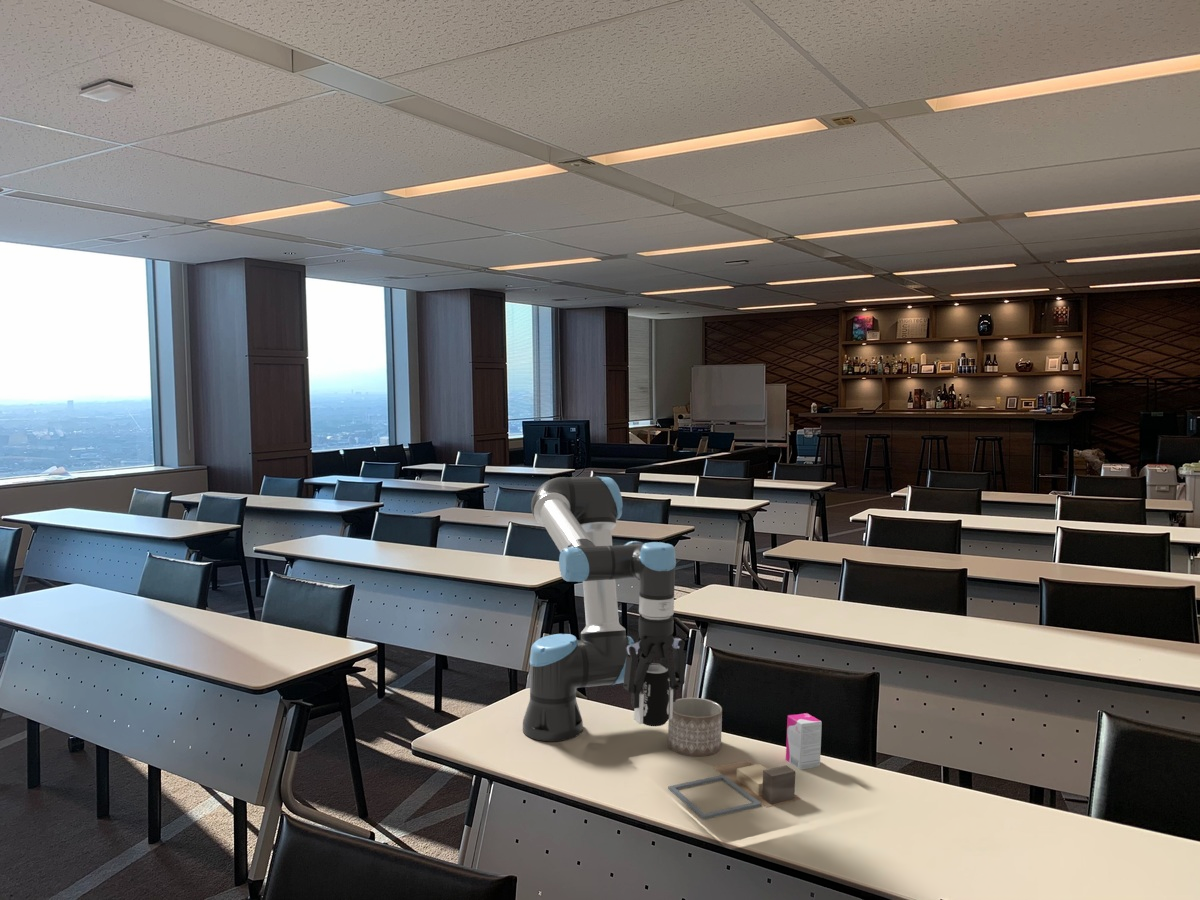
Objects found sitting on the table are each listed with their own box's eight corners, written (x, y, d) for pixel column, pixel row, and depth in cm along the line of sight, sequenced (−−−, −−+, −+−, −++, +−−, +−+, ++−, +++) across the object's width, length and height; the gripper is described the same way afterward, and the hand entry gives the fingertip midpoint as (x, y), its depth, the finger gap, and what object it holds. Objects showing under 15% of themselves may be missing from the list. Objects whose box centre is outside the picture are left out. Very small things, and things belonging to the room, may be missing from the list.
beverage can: (666, 729, 178) (668, 674, 177) (636, 725, 180) (637, 671, 178) (670, 716, 185) (671, 663, 184) (640, 714, 186) (642, 661, 185)
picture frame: (668, 793, 179) (668, 786, 178) (723, 781, 184) (723, 774, 184) (703, 824, 166) (703, 816, 166) (761, 810, 172) (761, 803, 172)
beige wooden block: (736, 779, 183) (736, 768, 183) (759, 774, 186) (759, 763, 186) (758, 795, 176) (758, 784, 176) (781, 790, 179) (781, 779, 178)
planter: (723, 741, 206) (724, 700, 205) (717, 763, 193) (718, 719, 193) (672, 736, 209) (673, 695, 208) (663, 757, 197) (664, 713, 196)
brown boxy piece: (712, 771, 189) (713, 741, 189) (745, 764, 193) (746, 735, 193) (766, 811, 171) (767, 778, 171) (801, 803, 175) (802, 770, 175)
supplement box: (821, 770, 191) (822, 721, 190) (799, 774, 189) (800, 724, 188) (805, 759, 196) (807, 711, 196) (784, 763, 194) (785, 715, 193)
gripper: (623, 624, 173) (620, 732, 175) (704, 615, 181) (700, 718, 183) (607, 615, 179) (605, 719, 181) (686, 606, 188) (683, 706, 190)
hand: (653, 718), depth 182 cm, fingers closed on beverage can, 7 cm apart
